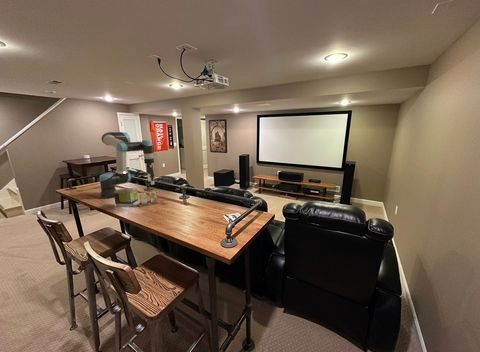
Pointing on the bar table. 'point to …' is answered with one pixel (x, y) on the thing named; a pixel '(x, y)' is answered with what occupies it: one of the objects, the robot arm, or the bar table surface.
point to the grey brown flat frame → (148, 204)
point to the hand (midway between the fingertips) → (151, 182)
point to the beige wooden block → (152, 197)
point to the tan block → (143, 198)
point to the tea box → (126, 197)
